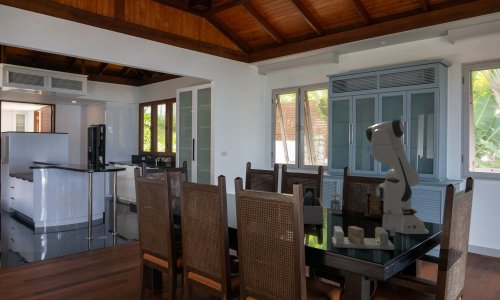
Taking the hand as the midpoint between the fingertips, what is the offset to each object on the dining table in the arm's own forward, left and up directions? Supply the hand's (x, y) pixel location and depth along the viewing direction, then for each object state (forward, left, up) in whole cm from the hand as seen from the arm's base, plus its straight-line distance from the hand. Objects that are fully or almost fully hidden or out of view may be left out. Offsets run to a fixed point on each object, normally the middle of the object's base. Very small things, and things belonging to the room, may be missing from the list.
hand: (392, 235), depth 190 cm
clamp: (+43, -68, -6) cm, 80 cm away
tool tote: (+41, -68, -6) cm, 80 cm away
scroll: (-5, -75, -6) cm, 76 cm away
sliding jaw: (+6, 0, -3) cm, 7 cm away
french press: (+21, -93, -6) cm, 96 cm away
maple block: (+19, 0, -4) cm, 19 cm away
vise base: (+16, 0, -6) cm, 17 cm away
